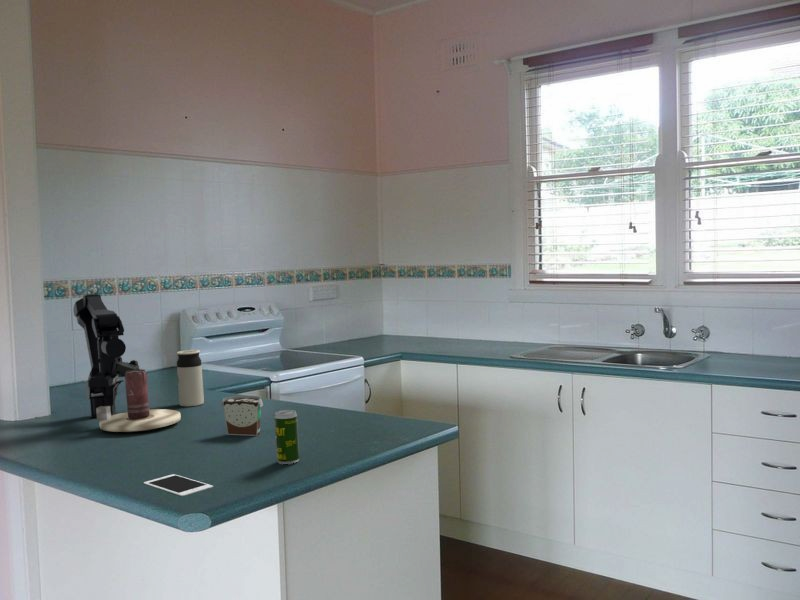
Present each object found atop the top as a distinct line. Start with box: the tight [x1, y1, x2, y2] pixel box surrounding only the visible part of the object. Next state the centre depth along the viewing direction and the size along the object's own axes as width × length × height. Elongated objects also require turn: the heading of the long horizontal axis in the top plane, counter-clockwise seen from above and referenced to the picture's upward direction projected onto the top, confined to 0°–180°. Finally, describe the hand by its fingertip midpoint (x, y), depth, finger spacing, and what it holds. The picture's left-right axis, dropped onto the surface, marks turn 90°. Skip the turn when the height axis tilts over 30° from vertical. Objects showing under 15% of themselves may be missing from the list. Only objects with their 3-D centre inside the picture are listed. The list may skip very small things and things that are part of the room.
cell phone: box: [143, 473, 214, 497], centre depth 175 cm, size 8×16×1 cm, turn 47°
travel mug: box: [176, 349, 205, 408], centre depth 266 cm, size 8×8×18 cm
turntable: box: [96, 406, 182, 433], centre depth 236 cm, size 24×23×5 cm
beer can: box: [274, 409, 300, 465], centre depth 189 cm, size 5×5×12 cm
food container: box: [220, 395, 264, 437], centre depth 222 cm, size 12×6×10 cm, turn 71°
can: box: [124, 368, 150, 419], centre depth 235 cm, size 6×6×14 cm
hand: (112, 405), depth 243 cm, fingers closed
